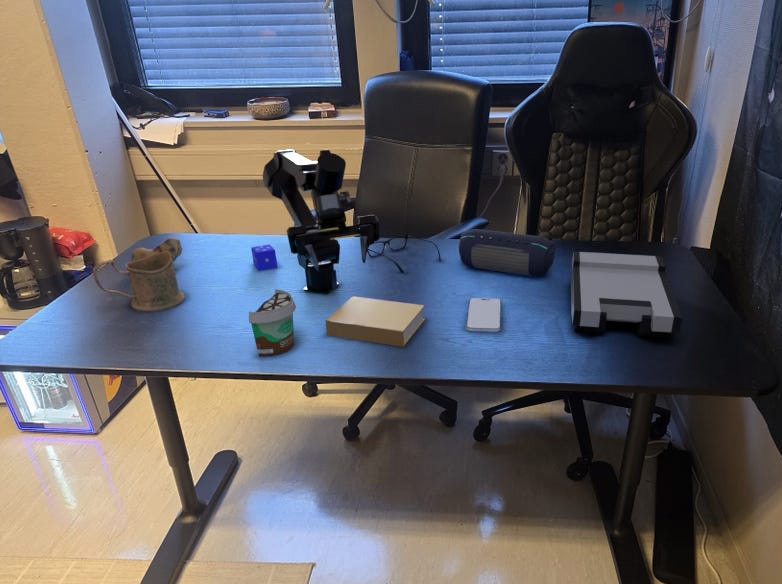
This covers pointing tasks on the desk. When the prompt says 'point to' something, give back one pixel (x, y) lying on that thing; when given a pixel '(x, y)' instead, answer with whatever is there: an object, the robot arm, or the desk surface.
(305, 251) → the robot arm
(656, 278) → the game console
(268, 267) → the die
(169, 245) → the lion figurine
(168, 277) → the mug
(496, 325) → the smartphone
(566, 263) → the desk surface
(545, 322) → the desk surface
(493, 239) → the portable speaker
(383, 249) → the eyeglasses
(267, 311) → the food container
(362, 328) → the book
